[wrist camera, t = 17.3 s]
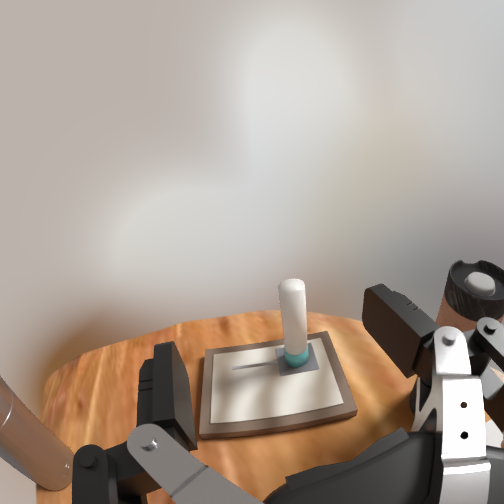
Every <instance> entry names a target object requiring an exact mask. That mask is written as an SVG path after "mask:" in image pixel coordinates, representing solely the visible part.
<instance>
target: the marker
mask: <svg viewBox="0 0 504 504" xmlns="http://www.w3.org/2000/svg"><path fill="white" fill-rule="evenodd" d="M278 290H279V299H280V308H281V317H282V326H283V335H284V345H285V346H284V352H285V361H286V363H287V364H288V365H289V366H291V367H301V366H303V365H305V364H306V363H307V362H308V344H307V319H306V298H305V284H304V282H303V281H302V280H299V279H287V280H284V281H282V282H281V283H280V284H279V285H278Z"/></svg>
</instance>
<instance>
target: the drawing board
mask: <svg viewBox="0 0 504 504" xmlns="http://www.w3.org/2000/svg"><path fill="white" fill-rule="evenodd" d="M307 344H308V362H307V363H306V364H305V365H303V366H301V367H291V366H289V365H288V364H287V363H286V361H285V352H284V346H285V345H284V339H281V340H275V341H268V342H262V343H255V344H248V345H241V346H233V347H225V348H216V349H207V350H205V361H204V372H203V385H202V398H201V412H200V427H199V434H200V436H201V437H202V439H209V438H227V437H240V436H250V435H259V434H267V433H275V432H281V431H288V430H294V429H299V428H305V427H310V426H315V425H319V424H324V423H328V422H333V421H337V420H341V419H345V418H348V417H352V416H356V414H357V410H358V409H357V407H356V404H355V401H354V398H353V396H352V393H351V390H350V388H349V385H348V383H347V380H346V377H345V375H344V372H343V369H342V367H341V364H340V362H339V359H338V357H337V354H336V352H335V349H334V347H333V344H332V341H331V339H330V337H329V334H328V332H327V331H324V332H319V333H314V334H309V335H307Z"/></svg>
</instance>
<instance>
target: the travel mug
mask: <svg viewBox="0 0 504 504" xmlns="http://www.w3.org/2000/svg"><path fill="white" fill-rule="evenodd" d="M484 317H489V318H493V319H495V320H497V321H498V322H499V323H501V322H502V320H503V317H504V270H502V269H501V268H499V267H498V266H496V265H494V264H492V263H490V262H487V261H482V260H481V261H478V262H477V263H474V264H467V263H464V262H463V261H462V260H459V261H457V262H455V263H454V264H453V265H452V266H451V268H450V270H449V274H448V278H447V282H446V286H445V291H444V294H443V299H442V302H441V306H440V309H439V313H438V316H437V320H436V323H437V324H438V325H439V326H440V327H444V326H451V327H454V328H457V329H458V330H460V331H461V332H466V331H470V330H474V329H475V328H476V325H477V322H478V321H479V320H480V319H481V318H484ZM418 377H419V376H417V379H416V382H415V385H414V387H413V390H412V393H411V396H410V407H411V409H412V411H413V413H414V414H415V413H416V397H417V380H418Z"/></svg>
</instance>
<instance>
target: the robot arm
mask: <svg viewBox="0 0 504 504" xmlns="http://www.w3.org/2000/svg"><path fill="white" fill-rule="evenodd" d="M362 321H363V325H364V327H365V329H366V330H367V331H368V333H369V334H370V335H371V336H372V337H373V338H374V340H375V341H376V342H377V343H378V344H379V346H380V347H381V348H382V349H383V350H384V351H385V353H386V354H387V355H388V356H389V357H390V359H391V360H392V361H393V362H394V363H395V365H396V366H397V367H398V368H399V369H400V371H401V372H402V373H403V374H404V375H405V377H406V378H409V377H411V376H413V375H414V374H417V375H418V376H419V377H418V380H417V397H416V413H415V420H414V423H413V426H412V429H411V432H407V433H406V432H405V430H404V429H403V427H401V428H400V429H398V430H396V431H394V432H392V433H391V434H389V435H387V436H385V437H383V438H381V439H379V440H377V441H376V442H375V443H374V444H372V445H371V446H370V447H369V448H368V449H366V450H365V451H364V452H362V453H361V454H360V455H359V456H357V457H356V458H355V459H353V460H351V461H347V462H342V463H337V464H331V465H324V466H317V467H314V468H312V469H309V470H306V471H303V472H300V473H297V474H294V475H290V476H287V477H285V479H286V484H284V485H282V486H280V487H279V488H277V489H276V490H274V491H273V492H272V493H271V494H270V495H268V496H267V497H266V499H265V500H264V501H263V502H261V501H259V500H258V499H256V498H254V497H253V496H251V495H250V494H248V493H247V492H245V491H243V490H242V489H240V488H239V487H237V486H236V485H235V484H233V483H232V482H230V481H229V480H227V479H226V478H225V477H223V476H222V475H220V474H219V473H218V472H216V471H215V470H213V469H212V468H211V467H209V466H207V465H204V464H203V463H201V462H200V461H199V460H198V459H196V458H195V457H194V456H193V455H192V454H190V451H192V450H198V447H197V441H196V434H195V427H194V419H193V412H192V403H191V395H190V385H189V378H188V374H187V371H186V368H185V365H184V363H183V361H182V359H181V356H180V354H179V352H178V350H177V347H176V345H175V343H174V342H173V341H171V342H166V343H161V344H156V345H155V346H154V358H153V359H148V360H145V361H144V363H143V365H142V367H141V369H140V372H139V385H138V391H139V392H138V403H137V425H136V428H135V429H134V430H133V431H132V432H131V433H130V434H129V436H128V439H127V441H126V442H124V443H122V444H120V445H117V446H114V447H112V448H109V449H106V450H103V449H102V448H101V447H99V446H97V445H91V444H90V445H85V446H83V447H81V448H80V449H79V450H78V451H77V452H76V453H75V455H74V454H73V452H72V451H71V449H70V448H69V447H67V446H66V445H65V444H64V443H63V442H62V441H61V440H60V439H58V438H57V437H56V436H55V435H54V434H53V433H52V432H51V431H50V430H49V429H48V428H47V427H46V426H45V425H44V424H43V423H42V422H41V421H40V420H39V419H38V418H37V417H36V416H35V415H34V414H33V413H32V412H31V411H30V410H29V409H28V408H27V407H26V406H25V404H24V403H23V402H22V401H21V400H20V399H19V398H18V397H17V395H16V394H15V393H14V392H13V391H12V390H11V389H10V387H9V386H8V385H7V384H6V382H5V381H4V380H3V378H2V377H1V376H0V457H1V458H3V459H4V460H5V461H6V462H8V463H9V464H10V465H12V466H13V467H14V468H16V469H17V470H18V471H20V472H21V473H22V474H24V475H25V476H27V477H28V478H30V479H31V480H32V481H34V482H35V483H37V484H38V485H40V486H42V487H43V488H45V489H47V490H51V491H58V490H61V489H63V488H65V487H67V486H68V485H69V484H70V483H71V481H72V504H148V503H147V496H146V494H147V493H150V492H152V491H155V490H158V489H160V488H163V489H164V490H165V491H166V492H167V493H168V494H169V495H170V497H171V498H172V499H173V501H174V502H176V503H177V504H504V383H503V382H502V381H501V380H500V378H499V377H498V376H497V375H496V374H495V373H494V372H493V371H492V369H491V368H490V367H489V366H488V364H489V362H490V360H491V359H492V360H493V361H494V362H495V363H496V364H497V365H498V366H499V367H500V368H501V369H502V371H503V372H504V326H503V325H501V323H499V322H498V321H497V320H495V319H493V318H489V317H484V318H481V319H480V320H479V321H478V322H477V325H476V328H475V329H474V330H470V331H466V332H461V331H460V330H458V329H457V328H454V327H451V326H444V327H440V326H439V325H438V324H437V323H436V322H434V321H433V320H432V319H431V318H430V317H429V316H428V315H427V314H425V313H424V312H423V311H422V310H421V309H418V307H417V306H416V305H415V304H414V303H412V301H410V300H409V299H408V298H407V297H406V296H405V295H402V294H400V293H398V292H395V291H393V292H392V291H391V290H390V289H389V288H387V287H386V286H385V285H384V284H378V285H375V286H372V287H370V288H367V289H366V290H365V292H364V303H363V312H362ZM483 408H484V410H485V411H486V412H487V414H488V415H489V416H490V418H491V419H492V420H493V422H494V423H495V424H496V426H497V427H498V428H499V430H500V431H501V433H502V434H503V441H502V442H501V448H499V447H494V446H489V445H485V424H484V410H483Z"/></svg>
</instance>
